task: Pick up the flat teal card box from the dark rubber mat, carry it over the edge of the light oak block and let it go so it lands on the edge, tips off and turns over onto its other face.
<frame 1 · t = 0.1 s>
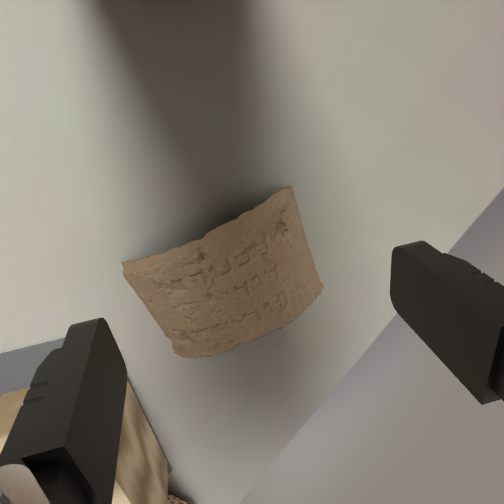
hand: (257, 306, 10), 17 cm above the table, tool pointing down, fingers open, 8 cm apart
oak block: (95, 432, 35), resting on mat
mat: (6, 447, 34), on the table
clay tablet: (227, 272, 31), on the table
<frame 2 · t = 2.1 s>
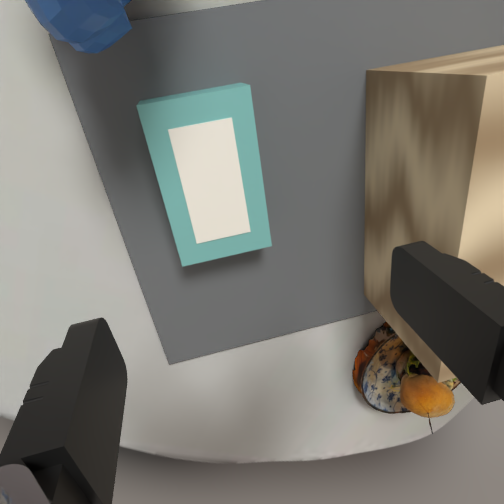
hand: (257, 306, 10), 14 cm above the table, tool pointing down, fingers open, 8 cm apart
card box: (208, 172, 21), resting on mat
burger: (408, 353, 34), on the table
oak block: (432, 185, 25), resting on mat
mat: (320, 194, 24), on the table
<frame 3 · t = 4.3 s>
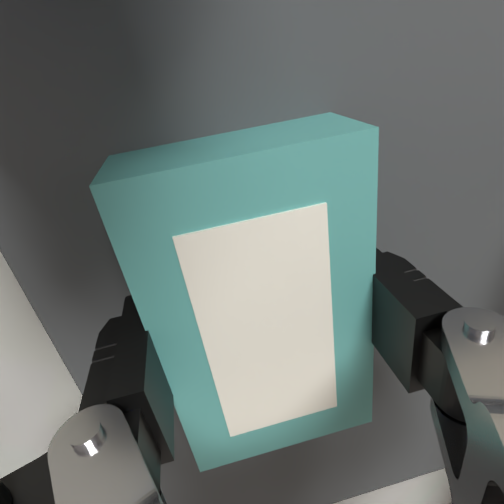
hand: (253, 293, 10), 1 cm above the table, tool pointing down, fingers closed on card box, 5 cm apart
card box: (250, 284, 11), resting on mat, touching gripper
mat: (443, 301, 13), on the table
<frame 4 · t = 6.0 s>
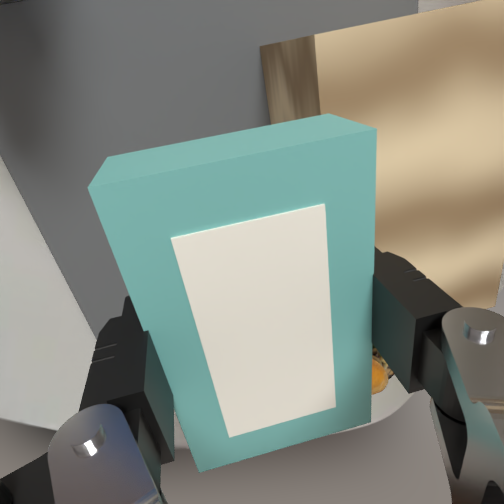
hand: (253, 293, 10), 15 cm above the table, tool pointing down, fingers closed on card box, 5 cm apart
card box: (249, 285, 11), point 15 cm above the table, touching gripper
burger: (351, 334, 34), on the table
oak block: (346, 161, 25), resting on mat
mat: (233, 172, 24), on the table
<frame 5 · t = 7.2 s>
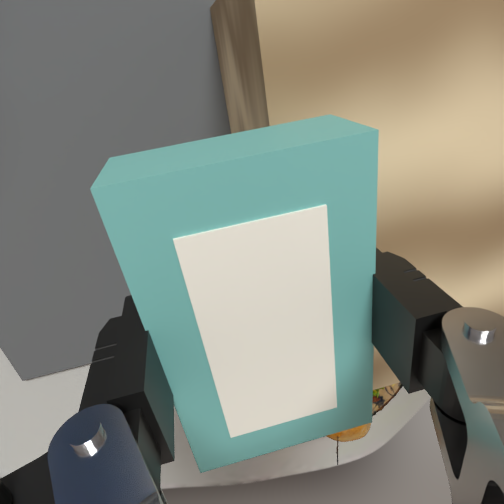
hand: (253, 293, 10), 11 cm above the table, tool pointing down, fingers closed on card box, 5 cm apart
card box: (251, 285, 11), point 10 cm above the table, touching gripper
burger: (331, 364, 29), on the table
oak block: (324, 162, 20), resting on mat
mat: (181, 172, 19), on the table
when the fingers open (11 cm above the table, at t = 7.9 s): card box drops 8 cm and tips over, resting on mat.
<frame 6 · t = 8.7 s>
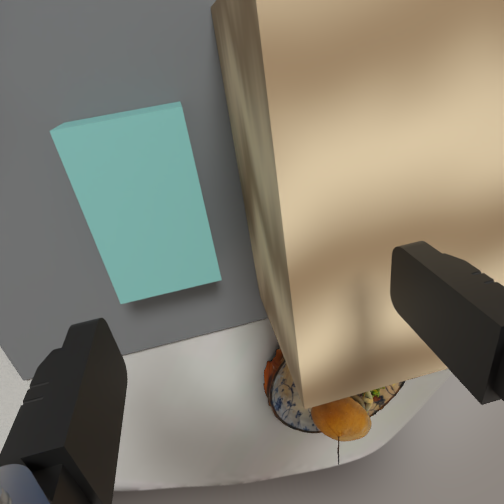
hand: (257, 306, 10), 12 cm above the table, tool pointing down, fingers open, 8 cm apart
card box: (147, 216, 17), point 3 cm above the table, tilted 180°, touching mat
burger: (331, 363, 29), on the table
oak block: (325, 161, 20), resting on mat
mat: (181, 172, 19), on the table
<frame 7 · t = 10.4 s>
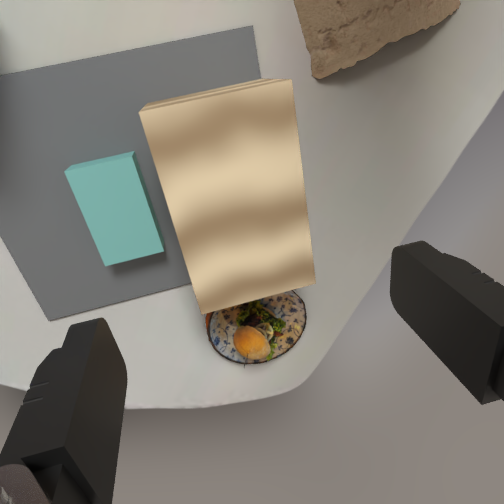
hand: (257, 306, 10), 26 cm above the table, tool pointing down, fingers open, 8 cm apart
card box: (117, 214, 31), point 3 cm above the table, tilted 180°, touching mat
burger: (254, 315, 43), on the table
oak block: (224, 180, 34), resting on mat
mat: (139, 189, 34), on the table
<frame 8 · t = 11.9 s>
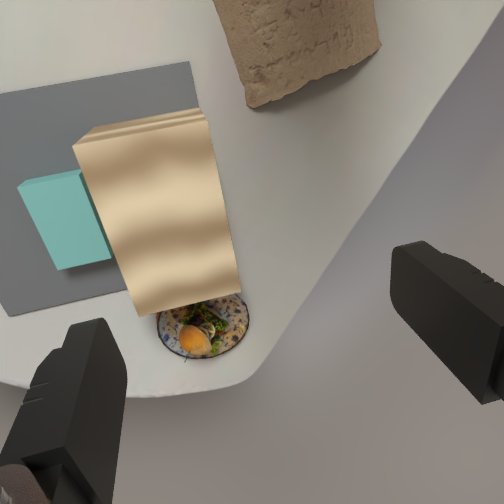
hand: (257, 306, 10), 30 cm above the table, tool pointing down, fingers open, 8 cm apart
card box: (67, 225, 35), point 3 cm above the table, tilted 180°, touching mat
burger: (202, 314, 47), on the table
oak block: (169, 195, 38), resting on mat
mat: (89, 201, 37), on the table
clay tablet: (297, 17, 34), on the table
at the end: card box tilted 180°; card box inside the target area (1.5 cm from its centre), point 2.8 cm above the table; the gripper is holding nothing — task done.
